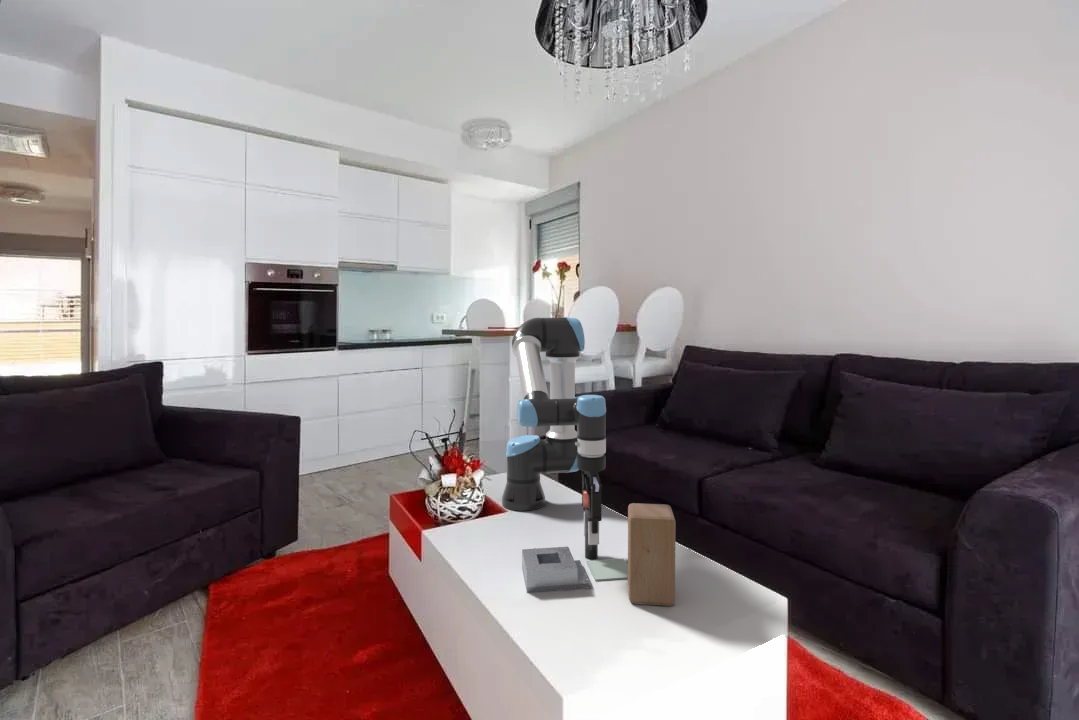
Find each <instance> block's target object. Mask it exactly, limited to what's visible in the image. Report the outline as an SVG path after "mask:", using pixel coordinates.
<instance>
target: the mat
mask: <svg viewBox="0 0 1079 720" xmlns="http://www.w3.org/2000/svg"><path fill="white" fill-rule="evenodd" d="M586 565H587V566H588V568H589V571H590V573H591V575H592V576H593V580H594V581H595V582H602V581H615V580H617V581H618V580H628V562H627V561H626V559H625V558H612V559H594V560H586Z"/></svg>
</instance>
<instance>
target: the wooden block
mask: <svg viewBox="0 0 1079 720" xmlns="http://www.w3.org/2000/svg"><path fill="white" fill-rule="evenodd" d="M676 528H677V527H676V519H675V516H674V512H673V510H672V507H671V505H669V504H664V503H663V504H662V503H640V502H639V503H638V502H637V503H635V502H632V503H629V505H628V507H627V565H628V579H627V592H628V600H629V602H630V603H632V604H638V605H651V606H664V607H666V606H667V607H672V606H674V604H675V602H676V534H677V533H676V532H677V531H676Z"/></svg>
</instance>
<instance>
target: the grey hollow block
mask: <svg viewBox="0 0 1079 720" xmlns="http://www.w3.org/2000/svg"><path fill="white" fill-rule="evenodd" d="M572 554H573V553H572V552H571V549H570V547H569V546H558V547H557V546H556V547H542V548H541V547H539V548H537V547H536V548H521V557H522V558H521V570H522V575H523V580H524V584H525V590H526V593H535V592H536V593H539V592H549V591H551V592H553V591H554V592H555V591H565V590H577V589H578V590H579V589H582V590H583V589H591V582H590V579H589V578H588V576H587V573H586V570H585V568H584V567H583V564H582V562H581V560H580V559H579V560H578V559H577V560H575V558H574V556H573V555H572Z"/></svg>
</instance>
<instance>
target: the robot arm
mask: <svg viewBox="0 0 1079 720" xmlns="http://www.w3.org/2000/svg"><path fill="white" fill-rule="evenodd" d="M585 345H586V340H585V332H584V328H583V325H582V323H581V321H580V320H579V319H578V318H577V317H567V316H566V317H564V316H563V317H534V318H530V319H528V320H525V321H524V322H523V323H522V324H520V325H519V326H518V328H517V329H516V331H515V332H514V334H513V336H512V340H511V349H512V353H513V355H514V357H516V362H517V368H518V376H519V382H520V388H521V394H522V395H521V396H522V399H520V400H518V402H517V421H518V422H517V423H518V424H519V426H520V427H526V428H527V427H528V428H529V427H530V428H531V427H532V428H535V427H538V428H539V427H549V430H548V431H547V432H546V433H545V439H541V438H540V436H539V435H536V434H526V435H521V436H516V437H513V438H511V439H510V440H508V442H507V444H506V453H505V456H506V484H505V487H504V490H503V493H502V496H501V505H502V507H504V508H505V509H508V510H511V511H519V512H522V511H523V512H524V511H525V512H526V511H534V510H538V509H540V508H542V507H544V506H545V505H546V495H545V492H544V490H543V489H544V488H543V487H542V483H541V475H542V474H555V473H556V474H561V473H563V474H568V473H573V472H574V473H575V472H578V471H581V506H582V507H583V508H582V509H583V536H584V537H585V507H584V506H583V490H584V489H586V493H587V494H588V498H589V517H590V518H589V519H587V521H588V544H589V545H598V546H599V545H600V522H602V520H603V519H602V490H603V484H602V483H601V477H600V476H599V472H601V471H604V470H605V469H606V464H607V462H606V459H607V458H606V455H605V454H606V452H607V437H606V436H607V435H606V429H607V427H606V426H607V425H606V421H607V419H606V418H607V417H606V415H607V406H606V405H607V403H606V398H605V397H604V396H603V395H599V394H583V395H579V396H575V395H576V393H575V392H576V361H577V360H578V359H579V358H580V353H581V352H583V351H584V350H585ZM541 353H545V358H546V359H547V361H549V390H548V386H547V382H546V376H545V373H544V368H543V367H544V366H543V361H542V357H541ZM575 426H576V430H575ZM589 490H591V491H589Z"/></svg>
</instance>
